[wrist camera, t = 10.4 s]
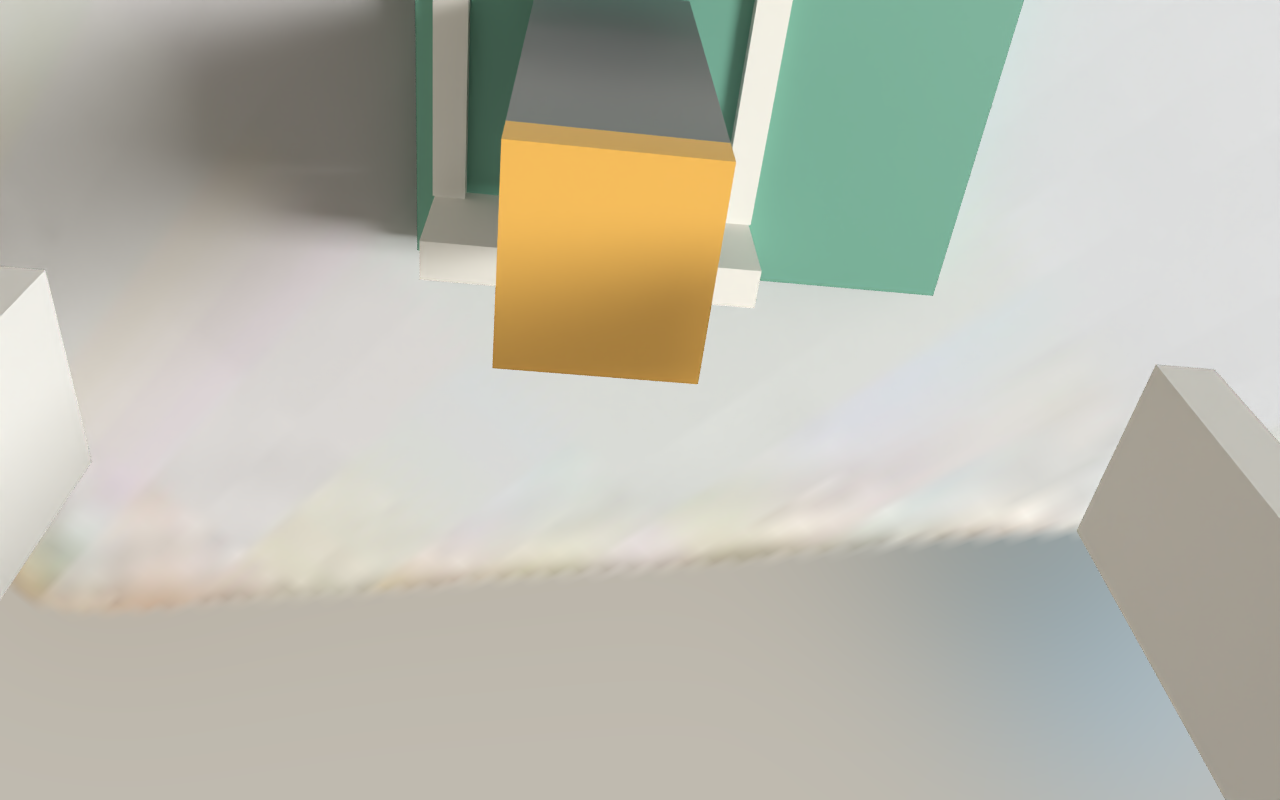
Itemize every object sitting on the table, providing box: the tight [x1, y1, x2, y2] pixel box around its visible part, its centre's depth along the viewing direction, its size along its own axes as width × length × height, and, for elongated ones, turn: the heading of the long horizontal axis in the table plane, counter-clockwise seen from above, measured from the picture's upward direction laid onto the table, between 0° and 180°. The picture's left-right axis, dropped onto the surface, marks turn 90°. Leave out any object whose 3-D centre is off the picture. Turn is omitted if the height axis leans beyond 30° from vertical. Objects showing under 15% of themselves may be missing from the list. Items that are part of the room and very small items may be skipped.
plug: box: [493, 0, 736, 384], centre depth 21 cm, size 5×4×10 cm
